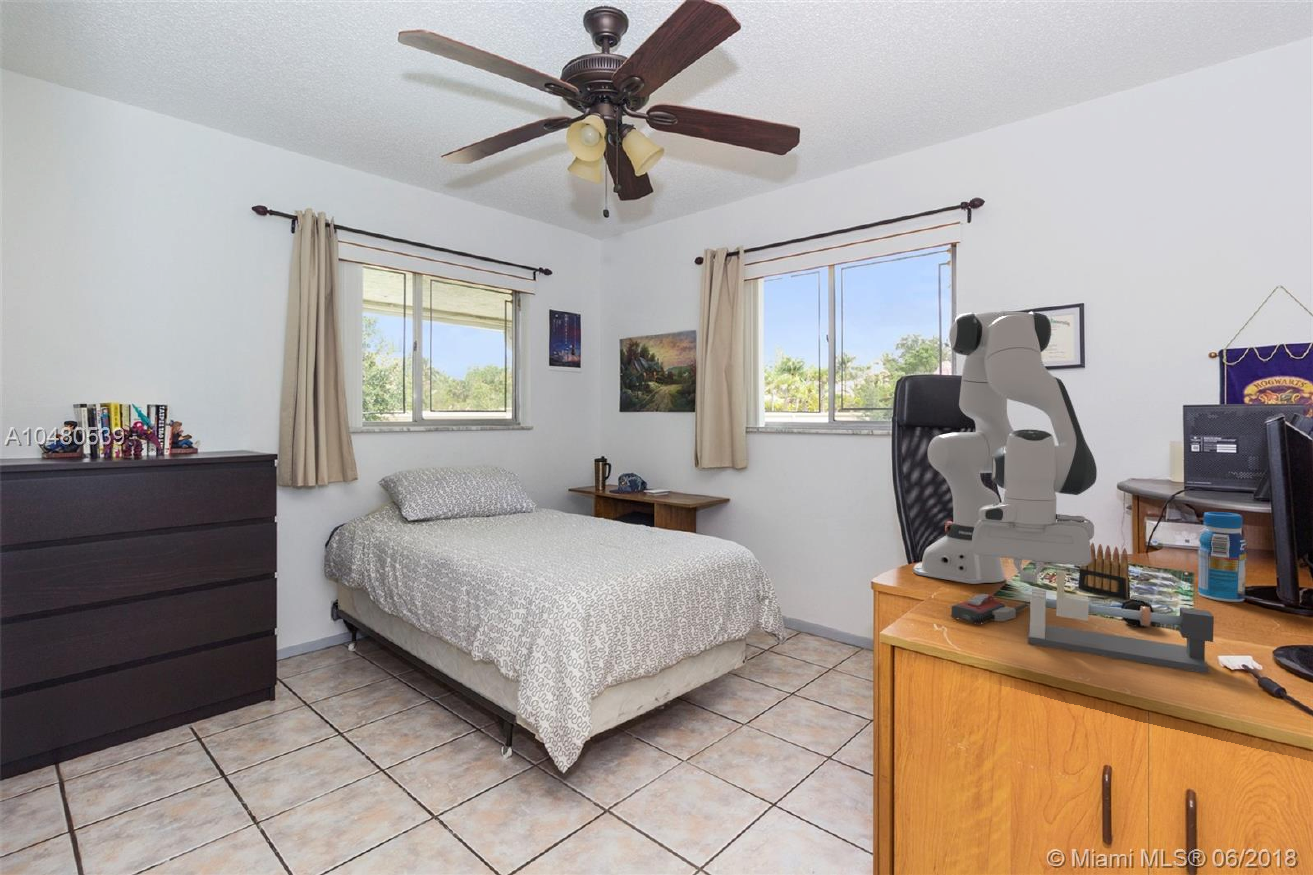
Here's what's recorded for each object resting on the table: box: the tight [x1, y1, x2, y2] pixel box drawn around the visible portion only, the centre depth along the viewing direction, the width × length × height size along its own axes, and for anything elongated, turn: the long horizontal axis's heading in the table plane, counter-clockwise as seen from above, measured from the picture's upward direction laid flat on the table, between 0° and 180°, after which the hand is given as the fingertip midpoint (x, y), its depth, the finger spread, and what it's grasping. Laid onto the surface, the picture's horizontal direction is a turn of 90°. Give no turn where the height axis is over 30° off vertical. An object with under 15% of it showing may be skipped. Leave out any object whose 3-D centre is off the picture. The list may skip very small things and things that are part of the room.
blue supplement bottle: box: [1197, 511, 1247, 603], centre depth 145 cm, size 8×8×20 cm
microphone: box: [1120, 598, 1155, 628], centre depth 132 cm, size 6×6×20 cm
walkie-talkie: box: [950, 592, 1030, 625], centre depth 135 cm, size 9×4×20 cm
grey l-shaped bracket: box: [1056, 569, 1090, 621], centre depth 117 cm, size 5×4×8 cm
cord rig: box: [1027, 587, 1215, 675], centre depth 114 cm, size 27×10×9 cm, turn 57°
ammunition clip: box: [1078, 542, 1131, 600], centre depth 150 cm, size 11×2×12 cm, turn 26°
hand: (1028, 582), depth 121 cm, fingers closed
